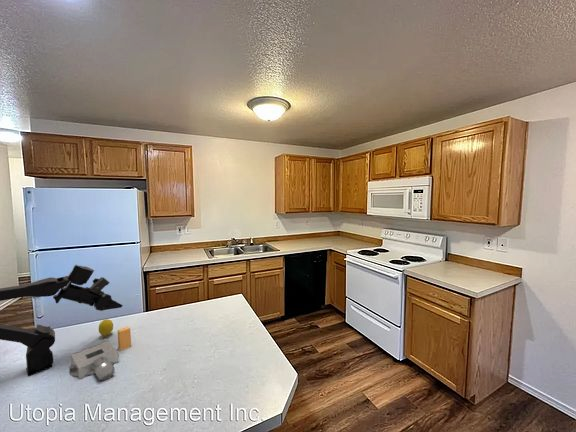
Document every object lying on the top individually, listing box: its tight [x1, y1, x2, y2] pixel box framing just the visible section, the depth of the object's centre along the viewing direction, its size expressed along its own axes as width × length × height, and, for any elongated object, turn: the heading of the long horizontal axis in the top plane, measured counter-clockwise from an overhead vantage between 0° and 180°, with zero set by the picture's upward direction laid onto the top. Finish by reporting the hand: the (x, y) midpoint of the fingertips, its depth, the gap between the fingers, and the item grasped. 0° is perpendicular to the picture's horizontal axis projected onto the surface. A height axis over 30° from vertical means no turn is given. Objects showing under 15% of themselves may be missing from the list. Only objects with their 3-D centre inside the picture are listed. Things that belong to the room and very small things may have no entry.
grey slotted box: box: [69, 341, 120, 381], centre depth 94 cm, size 15×22×5 cm
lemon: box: [98, 318, 114, 337], centre depth 116 cm, size 6×6×8 cm
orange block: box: [116, 326, 132, 351], centre depth 107 cm, size 4×2×8 cm, turn 141°
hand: (119, 304), depth 110 cm, fingers open, 9 cm apart
